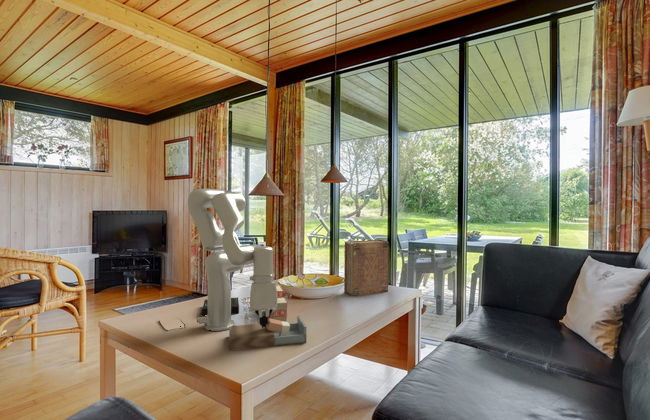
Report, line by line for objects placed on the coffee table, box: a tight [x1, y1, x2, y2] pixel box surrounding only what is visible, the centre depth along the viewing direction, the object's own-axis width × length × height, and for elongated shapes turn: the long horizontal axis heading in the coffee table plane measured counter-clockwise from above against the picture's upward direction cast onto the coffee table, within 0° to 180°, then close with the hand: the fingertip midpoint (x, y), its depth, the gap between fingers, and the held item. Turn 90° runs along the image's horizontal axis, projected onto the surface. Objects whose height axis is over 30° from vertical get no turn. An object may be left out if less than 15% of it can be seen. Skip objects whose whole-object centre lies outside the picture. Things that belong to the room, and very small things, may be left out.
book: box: [343, 239, 390, 297], centre depth 211 cm, size 25×9×30 cm, turn 119°
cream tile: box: [279, 321, 290, 336], centre depth 139 cm, size 5×5×3 cm
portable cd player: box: [200, 297, 240, 317], centre depth 175 cm, size 16×17×4 cm
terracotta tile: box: [266, 317, 282, 333], centre depth 138 cm, size 5×5×3 cm
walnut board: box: [228, 323, 275, 351], centre depth 136 cm, size 16×14×4 cm
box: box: [273, 315, 307, 347], centre depth 140 cm, size 12×14×6 cm
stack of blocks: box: [268, 284, 288, 322], centre depth 165 cm, size 21×6×12 cm, turn 17°
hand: (263, 326), depth 137 cm, fingers closed
